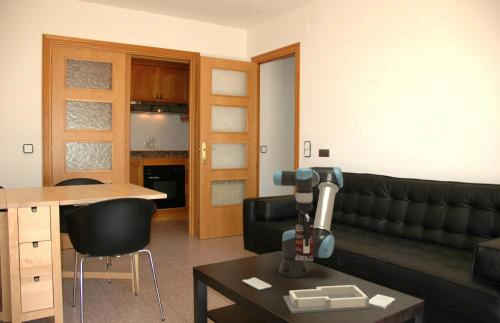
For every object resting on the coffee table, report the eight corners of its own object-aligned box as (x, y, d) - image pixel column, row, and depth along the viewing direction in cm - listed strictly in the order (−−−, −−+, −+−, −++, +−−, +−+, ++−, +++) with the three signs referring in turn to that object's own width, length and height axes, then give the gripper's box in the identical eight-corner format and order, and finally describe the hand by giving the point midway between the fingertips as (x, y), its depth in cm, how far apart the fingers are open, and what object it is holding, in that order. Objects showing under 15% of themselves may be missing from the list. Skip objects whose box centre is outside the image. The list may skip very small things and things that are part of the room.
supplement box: (295, 260, 184) (294, 226, 184) (295, 257, 189) (295, 224, 189) (313, 261, 183) (313, 226, 182) (314, 258, 188) (313, 224, 187)
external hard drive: (365, 305, 170) (377, 297, 180) (383, 310, 165) (395, 301, 175) (365, 302, 170) (377, 293, 180) (383, 306, 165) (395, 298, 174)
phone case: (274, 289, 191) (254, 279, 205) (274, 286, 191) (254, 276, 205) (259, 293, 186) (240, 283, 200) (259, 290, 186) (240, 280, 200)
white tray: (283, 298, 178) (283, 288, 178) (354, 294, 182) (354, 284, 182) (291, 313, 162) (291, 302, 161) (369, 309, 165) (369, 298, 165)
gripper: (291, 199, 194) (292, 246, 195) (301, 204, 175) (301, 256, 176) (306, 198, 195) (307, 245, 196) (317, 204, 176) (318, 256, 177)
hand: (304, 250), depth 186 cm, fingers closed on supplement box, 6 cm apart
